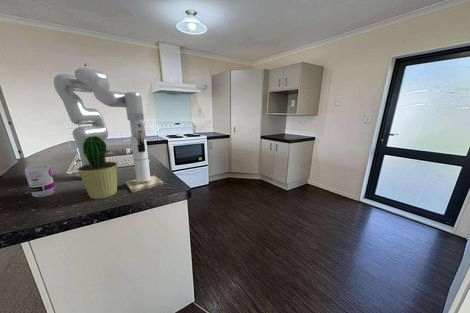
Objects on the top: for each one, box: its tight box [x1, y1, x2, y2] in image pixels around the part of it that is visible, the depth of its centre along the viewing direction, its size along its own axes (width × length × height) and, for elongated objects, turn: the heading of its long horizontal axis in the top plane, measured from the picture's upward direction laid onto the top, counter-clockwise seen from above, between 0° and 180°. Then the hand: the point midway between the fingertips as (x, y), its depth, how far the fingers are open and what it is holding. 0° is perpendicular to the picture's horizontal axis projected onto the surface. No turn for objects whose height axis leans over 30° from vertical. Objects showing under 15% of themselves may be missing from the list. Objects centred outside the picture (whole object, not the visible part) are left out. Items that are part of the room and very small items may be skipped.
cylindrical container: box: [130, 135, 151, 182], centre depth 97 cm, size 7×7×25 cm
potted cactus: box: [77, 136, 118, 200], centre depth 85 cm, size 15×15×30 cm
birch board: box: [125, 174, 164, 193], centre depth 101 cm, size 16×14×2 cm
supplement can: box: [24, 163, 57, 198], centre depth 86 cm, size 8×8×15 cm
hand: (139, 150), depth 96 cm, fingers closed on cylindrical container, 7 cm apart
